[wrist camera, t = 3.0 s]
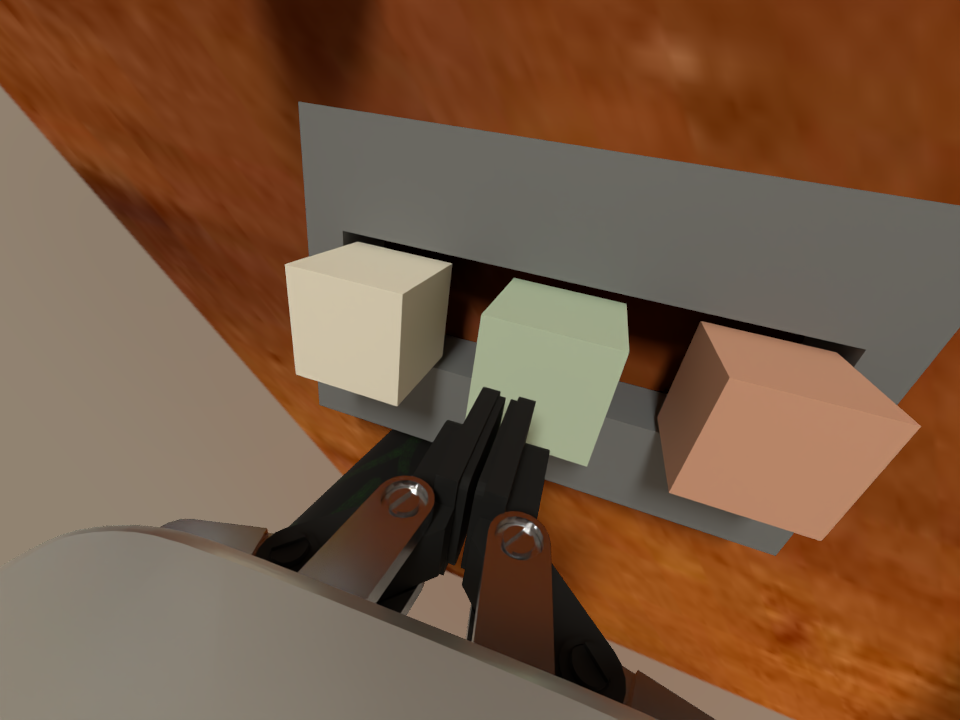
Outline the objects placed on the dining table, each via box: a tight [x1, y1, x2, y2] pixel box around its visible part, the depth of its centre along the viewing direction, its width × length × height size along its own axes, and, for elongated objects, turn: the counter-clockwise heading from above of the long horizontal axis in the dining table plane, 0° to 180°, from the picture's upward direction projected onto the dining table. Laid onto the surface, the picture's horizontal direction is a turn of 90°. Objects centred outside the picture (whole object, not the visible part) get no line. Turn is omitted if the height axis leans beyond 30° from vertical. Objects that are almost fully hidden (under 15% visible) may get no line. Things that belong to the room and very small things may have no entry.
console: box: [298, 102, 960, 556], centre depth 20 cm, size 26×16×4 cm, turn 82°
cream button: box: [285, 242, 452, 406], centre depth 18 cm, size 5×5×5 cm
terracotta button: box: [657, 321, 921, 541], centre depth 15 cm, size 5×5×5 cm
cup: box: [289, 429, 433, 527], centre depth 24 cm, size 8×8×12 cm
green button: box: [465, 278, 629, 467], centre depth 16 cm, size 5×5×5 cm
